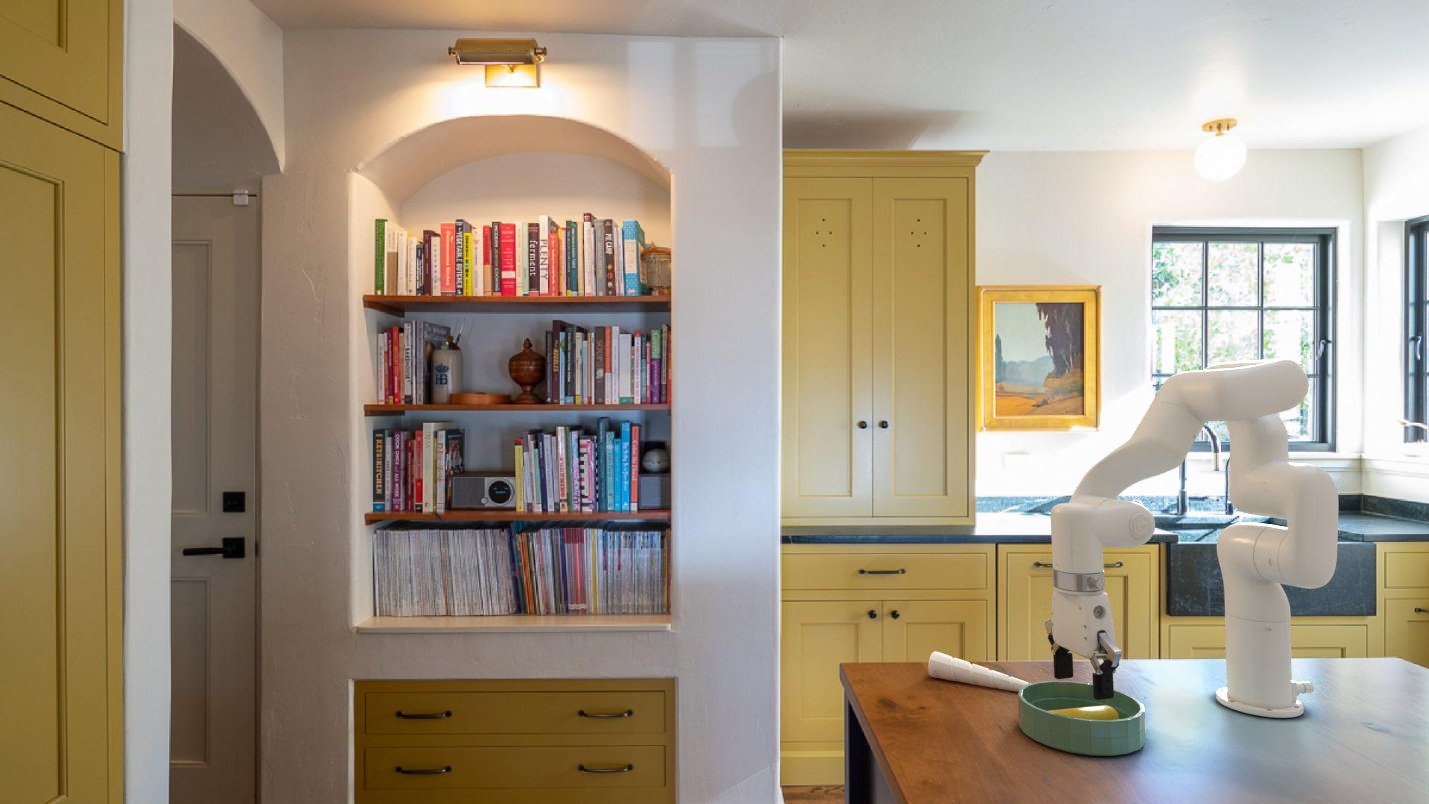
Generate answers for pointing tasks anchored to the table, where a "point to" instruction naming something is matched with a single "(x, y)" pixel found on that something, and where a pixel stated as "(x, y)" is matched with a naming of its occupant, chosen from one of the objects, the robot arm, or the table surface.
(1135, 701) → the green round dish
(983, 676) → the unicorn horn
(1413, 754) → the table surface
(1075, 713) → the yellow rounded capsule
